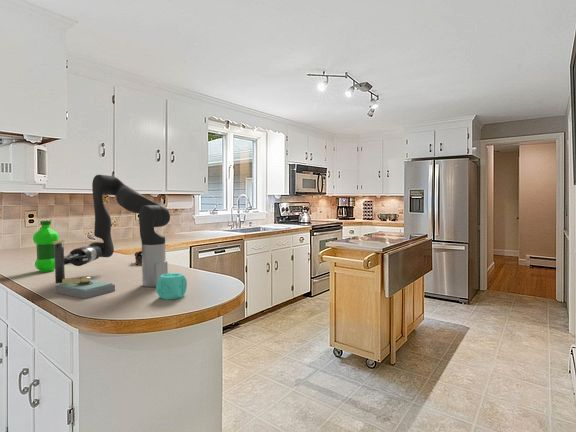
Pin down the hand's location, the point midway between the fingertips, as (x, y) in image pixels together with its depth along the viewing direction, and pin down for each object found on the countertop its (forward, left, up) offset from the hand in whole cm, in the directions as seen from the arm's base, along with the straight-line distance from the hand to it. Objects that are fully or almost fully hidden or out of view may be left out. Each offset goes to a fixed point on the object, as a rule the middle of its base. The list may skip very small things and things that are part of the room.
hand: (59, 263), depth 133 cm
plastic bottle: (+46, -20, -11) cm, 51 cm away
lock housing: (-9, -4, -11) cm, 15 cm away
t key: (-6, -2, -7) cm, 9 cm away
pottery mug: (+20, -56, -11) cm, 61 cm away
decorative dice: (-44, -14, -11) cm, 48 cm away
